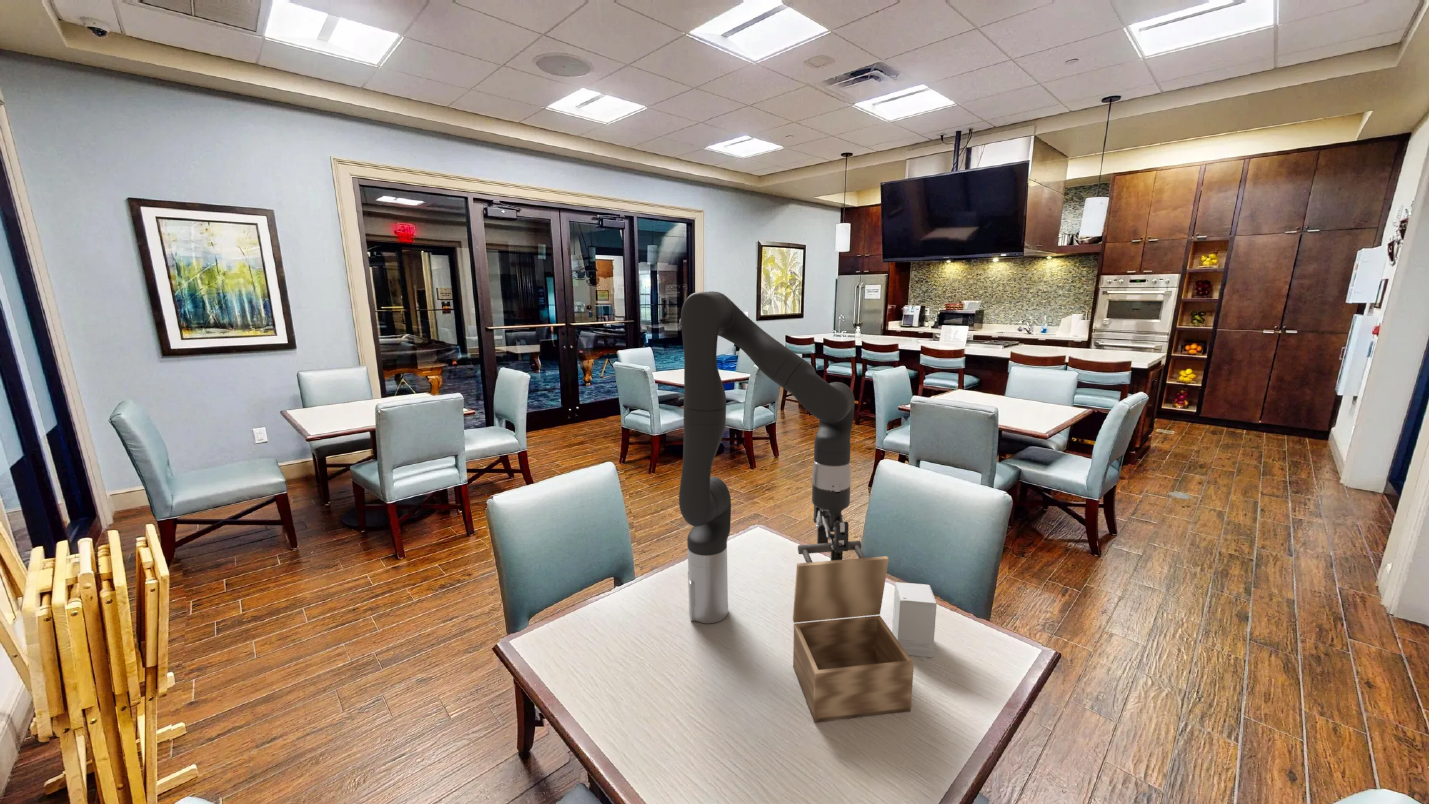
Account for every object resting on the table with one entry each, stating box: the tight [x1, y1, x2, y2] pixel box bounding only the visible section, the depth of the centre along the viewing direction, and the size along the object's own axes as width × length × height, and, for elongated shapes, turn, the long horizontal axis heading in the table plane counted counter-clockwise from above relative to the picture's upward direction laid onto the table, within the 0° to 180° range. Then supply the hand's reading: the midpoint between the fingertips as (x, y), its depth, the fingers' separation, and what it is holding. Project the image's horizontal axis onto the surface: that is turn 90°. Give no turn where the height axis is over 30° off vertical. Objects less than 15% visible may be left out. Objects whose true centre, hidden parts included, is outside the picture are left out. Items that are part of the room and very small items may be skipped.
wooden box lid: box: [792, 540, 890, 624], centre depth 105 cm, size 18×14×9 cm
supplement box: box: [891, 581, 938, 658], centre depth 110 cm, size 7×7×13 cm
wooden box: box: [792, 614, 915, 724], centre depth 98 cm, size 18×14×10 cm
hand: (829, 555), depth 107 cm, fingers open, 8 cm apart
